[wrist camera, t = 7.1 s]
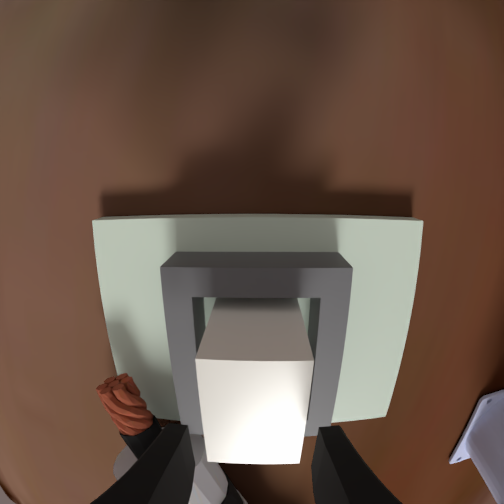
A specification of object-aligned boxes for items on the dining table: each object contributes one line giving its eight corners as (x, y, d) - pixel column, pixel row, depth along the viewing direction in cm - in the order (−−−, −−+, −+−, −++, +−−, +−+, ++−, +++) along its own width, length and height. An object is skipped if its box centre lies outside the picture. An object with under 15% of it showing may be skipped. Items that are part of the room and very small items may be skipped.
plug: (295, 289, 15) (314, 360, 9) (289, 377, 16) (299, 463, 10) (219, 289, 15) (195, 358, 9) (223, 376, 16) (207, 461, 10)
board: (412, 217, 15) (449, 230, 11) (380, 404, 18) (397, 443, 14) (103, 216, 15) (65, 229, 12) (134, 402, 18) (114, 439, 15)
